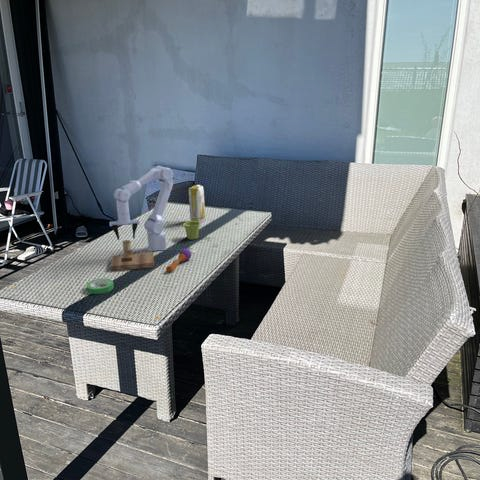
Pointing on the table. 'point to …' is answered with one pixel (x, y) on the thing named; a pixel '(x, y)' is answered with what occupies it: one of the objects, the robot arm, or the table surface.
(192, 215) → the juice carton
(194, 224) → the plant pot
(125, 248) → the beech peg
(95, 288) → the tape roll
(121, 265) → the walnut board
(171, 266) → the kendama
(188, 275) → the table surface
